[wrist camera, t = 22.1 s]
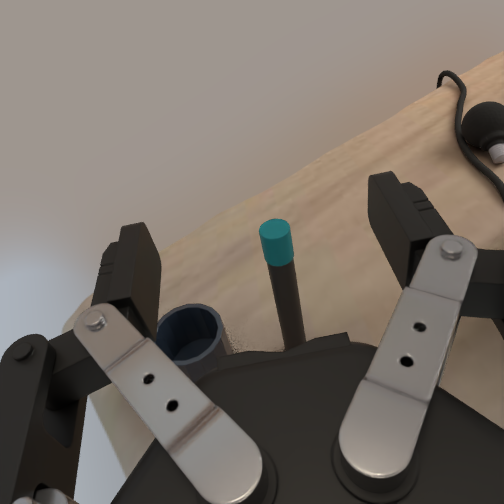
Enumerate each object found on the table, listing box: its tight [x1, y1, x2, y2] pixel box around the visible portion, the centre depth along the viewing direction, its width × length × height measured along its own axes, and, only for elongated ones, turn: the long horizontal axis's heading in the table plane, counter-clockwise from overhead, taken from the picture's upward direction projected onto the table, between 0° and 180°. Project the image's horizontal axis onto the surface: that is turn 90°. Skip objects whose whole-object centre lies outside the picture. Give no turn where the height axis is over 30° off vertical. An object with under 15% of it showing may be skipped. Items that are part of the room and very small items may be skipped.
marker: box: [259, 219, 306, 351], centre depth 38 cm, size 2×2×16 cm
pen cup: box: [154, 304, 234, 383], centre depth 42 cm, size 7×7×6 cm
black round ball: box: [461, 102, 504, 163], centre depth 61 cm, size 6×6×10 cm
